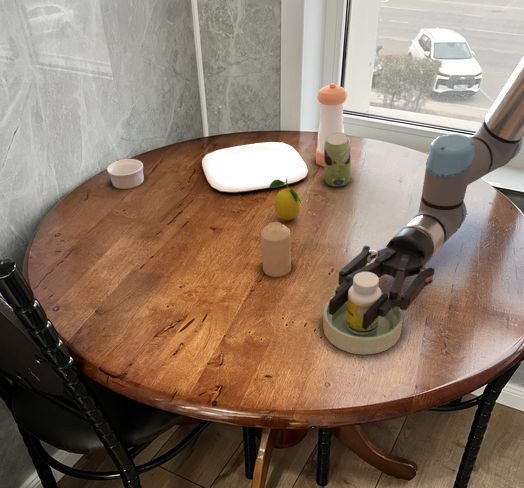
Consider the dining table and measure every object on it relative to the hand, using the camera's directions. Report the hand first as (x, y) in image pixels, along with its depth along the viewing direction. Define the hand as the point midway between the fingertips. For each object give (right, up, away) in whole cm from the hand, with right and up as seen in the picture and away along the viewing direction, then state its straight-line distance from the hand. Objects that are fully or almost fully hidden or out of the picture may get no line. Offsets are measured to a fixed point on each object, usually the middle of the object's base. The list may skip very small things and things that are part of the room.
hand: (347, 314), depth 85 cm
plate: (-16, +40, +54) cm, 69 cm away
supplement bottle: (+3, -1, +7) cm, 8 cm away
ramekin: (-47, +37, +52) cm, 80 cm away
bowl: (+4, -2, +8) cm, 9 cm away
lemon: (-8, +23, +35) cm, 43 cm away
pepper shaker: (+4, +43, +55) cm, 70 cm away
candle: (-11, +10, +22) cm, 26 cm away
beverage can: (+4, +34, +46) cm, 58 cm away
